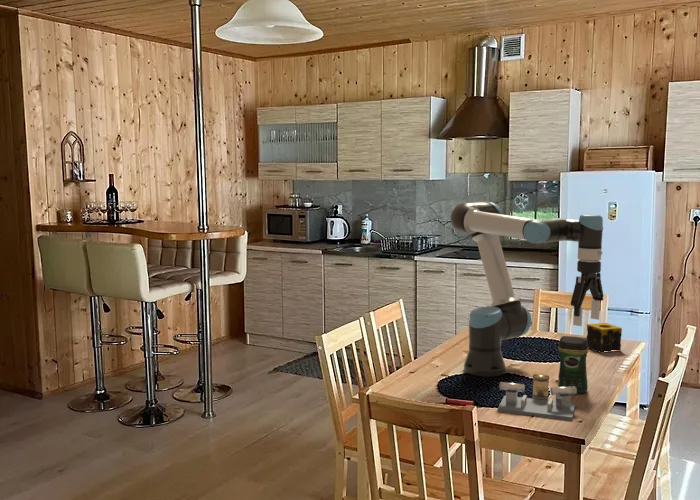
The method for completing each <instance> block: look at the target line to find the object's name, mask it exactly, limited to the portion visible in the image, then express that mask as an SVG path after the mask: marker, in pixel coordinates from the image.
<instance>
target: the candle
mask: <svg viewBox="0 0 700 500" xmlns="http://www.w3.org/2000/svg"><path fill="white" fill-rule="evenodd" d="M586 331H587V334H586V338H587V341H588V347H589V348H592V349H594V350H597V351H600V352H604V351H611V350H620V351H621V348H622V344H621V343H622V331H623V329H622V327H620V326H617V325H615V324H611V323H609V322H601V323H600V322H598V323H588V324H586ZM589 348H588V349H589ZM592 349H591V350H592ZM594 350H593V351H594ZM597 351H596V352H597ZM600 352H599V353H600Z"/></svg>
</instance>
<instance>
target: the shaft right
mask: <svg viewBox="0 0 700 500" xmlns="http://www.w3.org/2000/svg"><path fill="white" fill-rule="evenodd" d="M550 394H551V396H555V401H556V406H558V407H559V408H560V409H571V403H572V396H571V395H576V394H578V393H577V389H576V387H575V386H569V387H558V386H554V387H553V386H552V387H550Z"/></svg>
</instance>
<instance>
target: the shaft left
mask: <svg viewBox="0 0 700 500" xmlns="http://www.w3.org/2000/svg"><path fill="white" fill-rule="evenodd" d="M525 386H526V385H525V383H524V384H523V383H516V382H515V383H514V382H508V381H507V382H505V381H499V386H498V387H499V388H498V389H499V390H501V391H505V396H506V404H508V405H516V403H517V397H518V396H519V395H518V394H519V393H520V392H521V393H525ZM518 392H519V393H518Z"/></svg>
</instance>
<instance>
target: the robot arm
mask: <svg viewBox="0 0 700 500" xmlns="http://www.w3.org/2000/svg"><path fill="white" fill-rule="evenodd" d="M450 222H451V225H452V227H453V228H454V229H455V230H456V231H457V232H459V233H463V234H464V233H466V234H470V236H471V239H472V240H473V241H474V242H476V243H477V247H478V250H479V255H480V260H481V262H482V266H483V270H484V274H485V278H486V281H487V286H488V289H489V293H490V297H491V300H492V303H491V304H490V306H489V305H488V306H482V307H476V308H474V309H472V310H471V312H470V313H469V319H468V320H469V321H468V328H469V329H468V351H467V354H466V357H465V361H464V364H463V372H465V373H466V374H469V375H471V376H477V377H487V378H488V377H499V376H501V375H502V376H503V375H504V374H506V364H505V361H504V357H503V353H502V341H505V340H509V339H516V338H519V337H522V336H524V335H526V334H527V333H528V332H529V331H530V328H531V326H532V316H531V313H530V311H529V310H528V308H526V307H525V306H524V305H522V303H521V299H520V298H518V297H516V296H515V292H514V288H513V284H512V282H511V277H510V274H509V270H508V266H507V263H506V259H505V255H504V251H503V247H502V244H501V241H500V240H501V239H500V236H501V237H508V238H513V239H519V240H524V241H527V242H529V243H530V244H544V243H545V244H546V243H552V242H561V241H566V242H567V241H568V242H575V243H577V245H578V247H577V259H578V261H577V266H576V267H577V268H576V271H577V272H579V273H580V276H578V275H577V276H576V277H575V284H574V288H573V292H572V296H571V300H570V305H571V306H572V307H573V319H572V321H573V323H572V325H573V326H578V327H582V326H583V310H584V306H582V304H583V302H584V300H585V297H586V294H587V292H588V291H589V292H590V295H591V297H592V300H591V307H590V319H593V320H600V310H601V301H604V291H603V285H602V280H601V277H602V276H601V275H602V274H601V272H602V270H601V268H602V262H601V260H602V255H603V251H602V247H603V246H602V243H603V242H602V241H603V233H604V232H603V231H604V225H603V224H604V219H603V216H602V215H600V214H589V213H588V214H581V215H579V219H572V218H562V217H557V218H556V217H555V218H551V219H543V220H542V219H537V218H536V219H535V218H528V217H520V216H515V215H508V214H504V213H503V210H502V209H501V207H500V206H499V205H498V204H496V203H494V202H491V201H476V202H475V201H474V202H462V203H459V204H457V205H456V206H455V207H453V209H452V210H451V213H450Z"/></svg>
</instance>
